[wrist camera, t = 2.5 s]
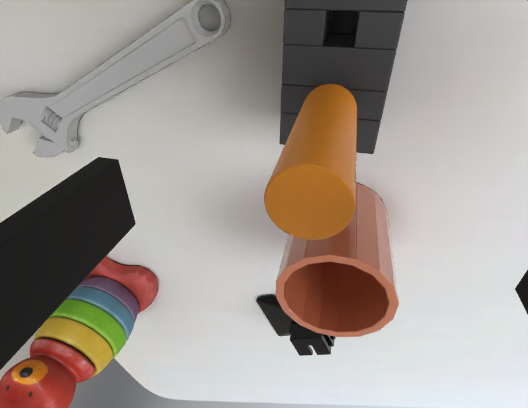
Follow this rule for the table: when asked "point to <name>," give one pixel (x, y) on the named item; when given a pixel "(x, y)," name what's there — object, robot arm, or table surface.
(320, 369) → the table surface
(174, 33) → the adjustable wrench
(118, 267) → the stacking bear
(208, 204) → the table surface
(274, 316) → the build plate
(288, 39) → the holder
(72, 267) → the robot arm
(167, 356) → the table surface
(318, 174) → the orange round dowel
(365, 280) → the pen cup
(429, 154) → the table surface
